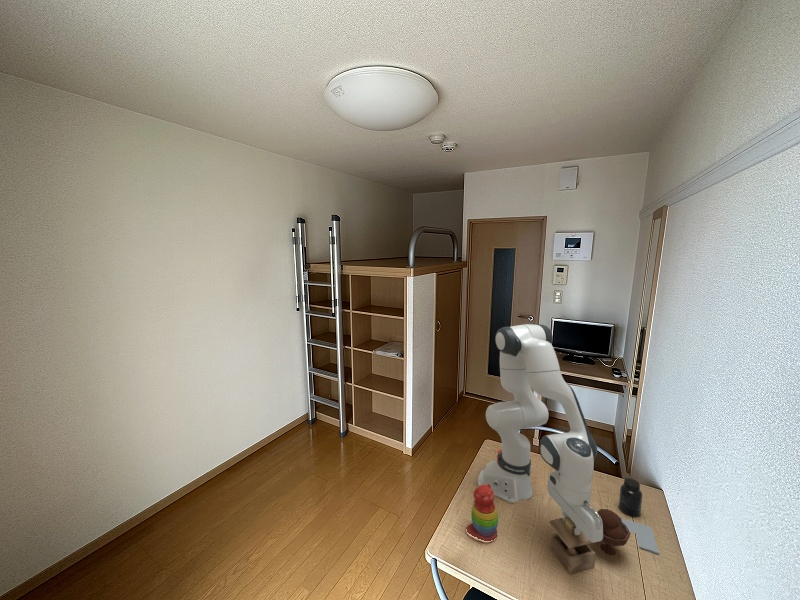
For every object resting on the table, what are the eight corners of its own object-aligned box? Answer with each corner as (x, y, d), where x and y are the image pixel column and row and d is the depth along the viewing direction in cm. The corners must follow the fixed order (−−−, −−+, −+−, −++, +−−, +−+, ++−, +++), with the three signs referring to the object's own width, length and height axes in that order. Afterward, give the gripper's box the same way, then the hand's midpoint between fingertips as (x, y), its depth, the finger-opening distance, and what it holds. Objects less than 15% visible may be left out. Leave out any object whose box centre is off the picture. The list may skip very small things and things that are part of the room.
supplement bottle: (644, 519, 118) (647, 489, 116) (623, 516, 119) (626, 487, 117) (634, 504, 124) (637, 477, 123) (615, 502, 126) (617, 475, 124)
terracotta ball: (565, 559, 102) (566, 550, 102) (566, 551, 105) (566, 542, 105) (577, 563, 101) (577, 555, 100) (577, 555, 104) (577, 546, 103)
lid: (569, 548, 97) (570, 536, 96) (549, 523, 106) (550, 512, 105) (593, 542, 99) (595, 530, 98) (572, 518, 108) (573, 507, 107)
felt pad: (618, 541, 109) (618, 539, 109) (614, 517, 119) (614, 516, 118) (659, 554, 104) (659, 553, 104) (651, 528, 113) (651, 527, 113)
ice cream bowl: (629, 573, 98) (633, 530, 96) (587, 556, 104) (590, 515, 102) (627, 546, 107) (630, 507, 105) (588, 532, 113) (591, 494, 111)
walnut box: (569, 576, 98) (570, 559, 97) (550, 550, 106) (550, 534, 106) (594, 569, 100) (595, 553, 99) (573, 544, 108) (573, 528, 107)
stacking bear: (479, 514, 122) (479, 472, 119) (503, 530, 114) (504, 486, 112) (463, 532, 114) (463, 488, 111) (488, 550, 107) (489, 503, 104)
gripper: (611, 515, 90) (606, 556, 93) (561, 466, 110) (558, 501, 112) (592, 519, 89) (588, 560, 91) (545, 469, 109) (542, 504, 111)
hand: (571, 527), depth 102 cm, fingers closed on lid, 3 cm apart
